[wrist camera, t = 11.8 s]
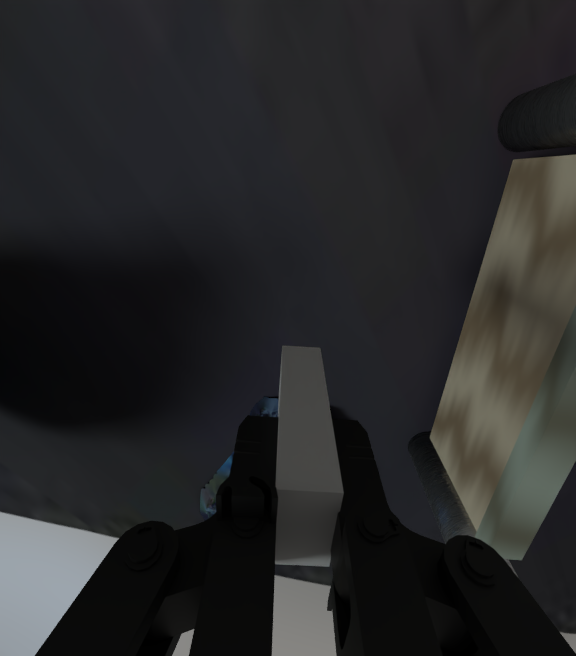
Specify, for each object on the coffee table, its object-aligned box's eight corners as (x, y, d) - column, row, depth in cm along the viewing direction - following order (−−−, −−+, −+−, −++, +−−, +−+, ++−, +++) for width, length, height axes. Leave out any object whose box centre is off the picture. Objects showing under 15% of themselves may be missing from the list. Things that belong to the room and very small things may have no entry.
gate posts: (505, 84, 19) (1210, -232, 4) (566, 89, 19) (1479, -209, 4) (401, 459, 30) (498, 725, 15) (440, 462, 30) (573, 731, 15)
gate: (509, 159, 19) (680, 144, 10) (568, 163, 19) (788, 152, 10) (426, 437, 27) (485, 557, 19) (468, 440, 27) (546, 561, 19)
